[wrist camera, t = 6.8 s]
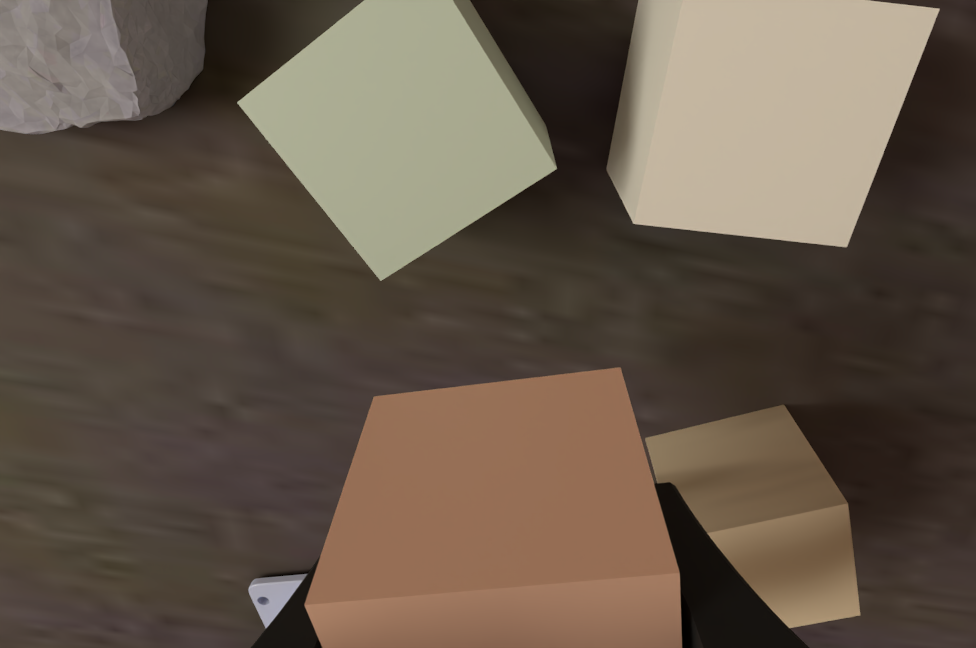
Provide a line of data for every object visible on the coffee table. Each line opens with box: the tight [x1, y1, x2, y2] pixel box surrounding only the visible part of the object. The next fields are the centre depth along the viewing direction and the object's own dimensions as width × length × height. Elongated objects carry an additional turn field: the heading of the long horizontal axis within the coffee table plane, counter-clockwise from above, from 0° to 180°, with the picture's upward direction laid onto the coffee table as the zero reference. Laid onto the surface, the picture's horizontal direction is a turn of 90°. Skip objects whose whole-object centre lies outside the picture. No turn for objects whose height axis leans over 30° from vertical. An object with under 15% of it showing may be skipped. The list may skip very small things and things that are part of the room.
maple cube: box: [645, 405, 860, 628], centre depth 22 cm, size 5×5×5 cm
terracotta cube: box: [304, 368, 682, 648], centre depth 12 cm, size 5×5×5 cm
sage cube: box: [237, 0, 557, 281], centre depth 16 cm, size 5×5×5 cm
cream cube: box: [606, 0, 940, 247], centre depth 16 cm, size 5×5×5 cm
